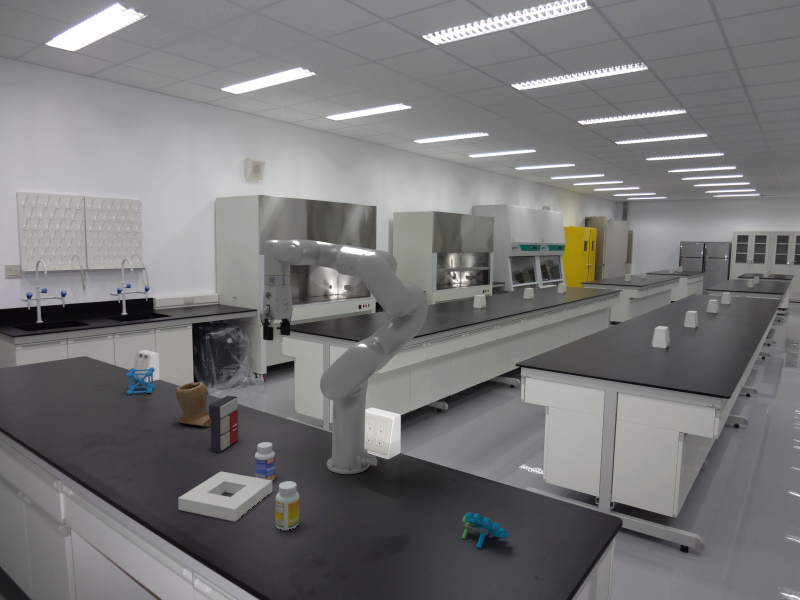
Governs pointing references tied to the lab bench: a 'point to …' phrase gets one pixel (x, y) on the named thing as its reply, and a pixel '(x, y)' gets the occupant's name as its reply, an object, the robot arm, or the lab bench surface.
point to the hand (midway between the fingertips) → (277, 337)
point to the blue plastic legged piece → (482, 527)
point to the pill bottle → (265, 461)
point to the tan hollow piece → (193, 404)
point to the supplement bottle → (287, 506)
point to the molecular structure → (140, 380)
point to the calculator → (223, 423)
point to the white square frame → (229, 508)
